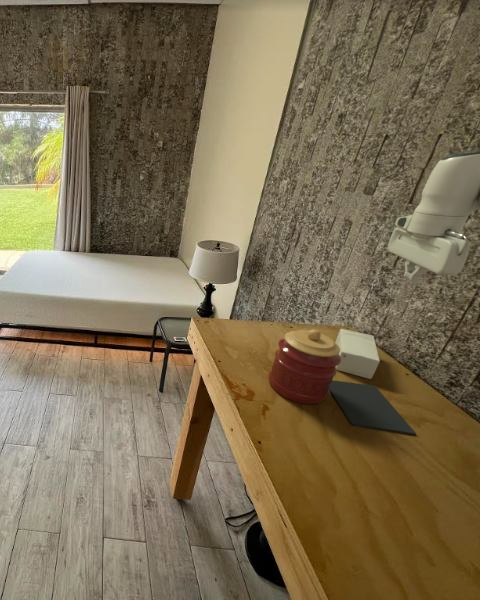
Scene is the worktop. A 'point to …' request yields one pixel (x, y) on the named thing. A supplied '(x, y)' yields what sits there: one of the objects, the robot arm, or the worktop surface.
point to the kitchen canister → (304, 366)
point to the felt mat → (368, 407)
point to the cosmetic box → (357, 353)
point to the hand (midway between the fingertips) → (410, 279)
